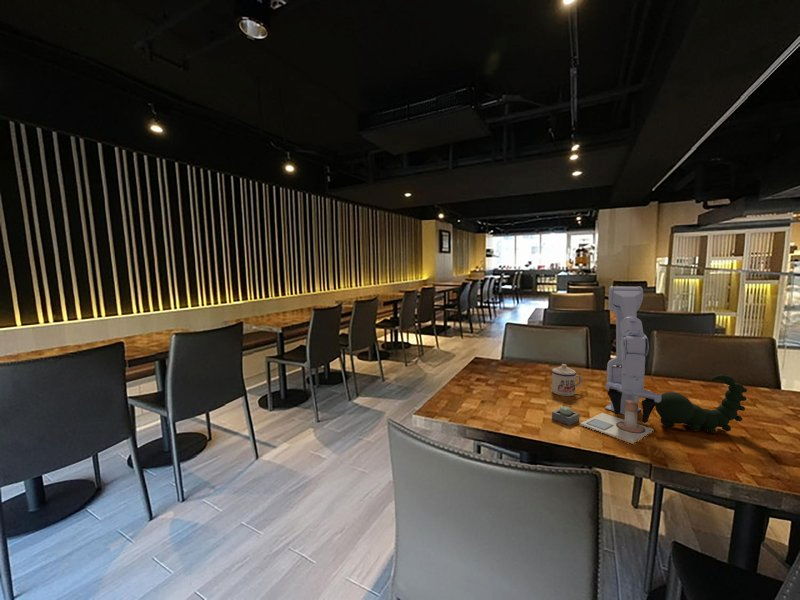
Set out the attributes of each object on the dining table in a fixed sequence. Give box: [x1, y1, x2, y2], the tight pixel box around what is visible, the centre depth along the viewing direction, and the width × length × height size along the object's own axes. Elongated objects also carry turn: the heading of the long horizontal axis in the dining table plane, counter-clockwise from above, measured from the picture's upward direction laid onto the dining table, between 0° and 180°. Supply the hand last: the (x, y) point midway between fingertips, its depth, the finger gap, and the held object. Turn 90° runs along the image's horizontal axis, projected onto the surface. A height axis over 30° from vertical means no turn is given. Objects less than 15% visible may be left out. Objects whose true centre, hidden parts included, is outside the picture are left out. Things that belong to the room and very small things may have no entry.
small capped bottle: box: [623, 400, 639, 430], centre depth 106 cm, size 3×3×8 cm
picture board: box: [579, 412, 654, 443], centre depth 107 cm, size 14×15×1 cm
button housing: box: [551, 408, 580, 426], centre depth 114 cm, size 6×6×2 cm
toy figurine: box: [654, 374, 748, 434], centre depth 106 cm, size 9×19×25 cm
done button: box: [559, 405, 573, 417], centre depth 114 cm, size 4×4×2 cm
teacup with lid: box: [551, 363, 583, 397], centre depth 139 cm, size 12×9×12 cm
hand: (630, 417), depth 106 cm, fingers open, 7 cm apart
